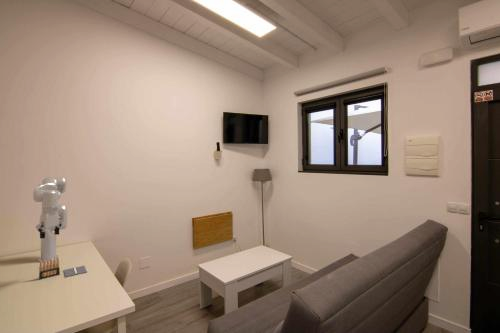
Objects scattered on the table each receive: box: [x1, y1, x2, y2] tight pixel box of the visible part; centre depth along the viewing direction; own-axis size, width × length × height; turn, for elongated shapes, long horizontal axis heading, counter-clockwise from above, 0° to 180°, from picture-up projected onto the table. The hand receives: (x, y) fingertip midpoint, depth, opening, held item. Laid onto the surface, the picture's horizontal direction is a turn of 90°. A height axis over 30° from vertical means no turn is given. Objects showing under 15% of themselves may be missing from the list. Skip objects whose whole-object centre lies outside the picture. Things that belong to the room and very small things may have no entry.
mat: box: [63, 265, 88, 278], centre depth 174 cm, size 14×12×1 cm
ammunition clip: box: [38, 257, 61, 281], centre depth 166 cm, size 11×2×12 cm, turn 137°
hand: (49, 236), depth 163 cm, fingers open, 9 cm apart
